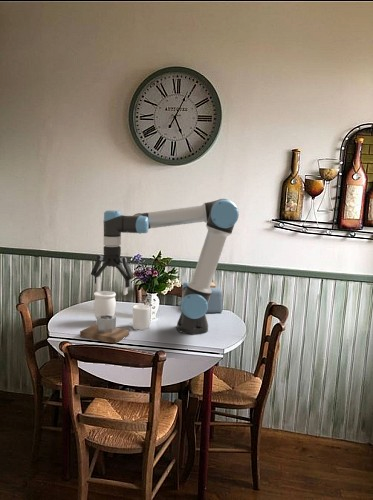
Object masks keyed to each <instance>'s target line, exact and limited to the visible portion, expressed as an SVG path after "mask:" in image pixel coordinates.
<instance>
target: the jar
mask: <svg viewBox="0 0 373 500" xmlns="http://www.w3.org/2000/svg"><path fill="white" fill-rule="evenodd" d="M93 294H94V300H93V311H94V316H95V317H94V318H95V320H96V321H95V324H97V317H98V316H100V315H113V316H115V312H116V306H117V304H116V303H117V302H116V295H117V294H116V292H115V291H111V290H101V291H98V292H96V291H95V292H94V293H93Z"/></svg>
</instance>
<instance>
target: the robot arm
mask: <svg viewBox="0 0 373 500" xmlns="http://www.w3.org/2000/svg"><path fill="white" fill-rule="evenodd" d="M239 213H240V212H239V209H238V206H237V205H236V203H235V202H234V201H232V200H230V199H227V198H220V199H217V200H213V201H208V202H203V203H202V205H195V206H188V207H180V208H179V207H178V208H172V209H165V210H159V211H158V210H157V211H149V212H143V213H141V212H138V213H135V214H133V215H123V214H122V211H121V210H114V209H113V210H111V209H109V210H105V211H104V213H103V245H104V246H103V255H102V254H99V255H97V256H96V261H95V264H94V265H93V268H92V269H91V272H90V275H91V276H93V277H94V284H95V286H96V288H95V290H96V291H95V292H98V291H102V279H101V278H102V276H101V274H102V273H103V272H104V270H105V269H106V268H107V267H112V268H116V269H117V270H118V272H119V273H120V275H122V277H123V278H124V279H123V283H122V284H123V288H122V290H123V291H122V292H123V296H126V295H127V294H128V293H129V290H128V289H129V287H130V284H131V283H130V280H132V279H134V277H135V276H134V275H133V271H132V270H131V267H130V265H129V262H128V257H126V256H125V257H122V256H121V254H122V253H121V251H122V247H121V244H122V241H121V240H122V233H129V234H147V233H148V232H149V229H157V228H166V227H171V226H172V227H173V226H180V225H189V224H195V223H205V224H206V225H205V226H206V228H207V233H206V236H205V239H204V242H203V245H202V248H201V250H200V254H199V257H198V261H197V263H196V266H195V269H194V273H193V275H192V279H191V281H184V282H183V283H182V287H181V301H180V309H181V312H180V315H179V317H178V321H177V323H176V330H177V331H179V332H180V331H181V333H183V332H184V334H188V333H189V334H190V335H199V334H200V335H201V334H206V333H207V332H208V331H209V323H208V319H207V315H206V314H207V313H206V312H207V309H208V302H209V299H210V296H211V293H212V291H211V289H210V285H211V282H213V279H214V276H215V273H216V270H217V268H218V267H217V266H218V264H219V261H220V258H221V256H222V255H221V254H222V253H223V249H224V247H225V243H226V240H227V237H228V236H230V235H232V233H233V230H234V227H235V225H236V223H237V222H238V220H239V215H240V214H239ZM102 261H104V262H103V263H102ZM101 263H102V264H101ZM100 265H101V266H100Z"/></svg>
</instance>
